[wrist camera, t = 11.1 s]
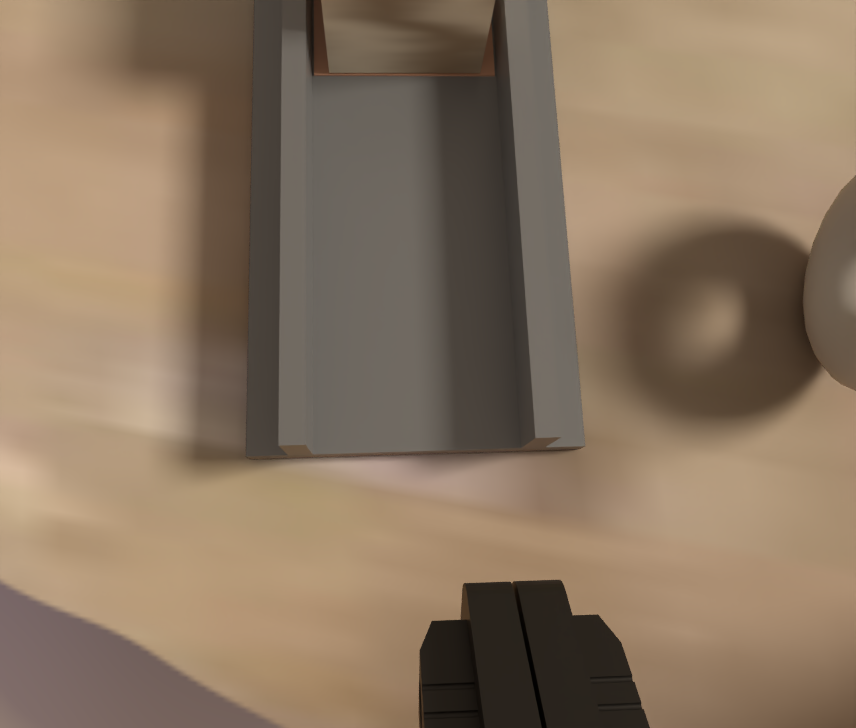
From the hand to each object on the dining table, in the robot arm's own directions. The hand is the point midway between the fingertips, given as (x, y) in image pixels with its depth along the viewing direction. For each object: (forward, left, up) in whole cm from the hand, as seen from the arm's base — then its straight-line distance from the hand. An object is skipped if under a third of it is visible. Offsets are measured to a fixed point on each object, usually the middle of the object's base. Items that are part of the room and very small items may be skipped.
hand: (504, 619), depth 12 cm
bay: (0, -18, -20) cm, 27 cm away
